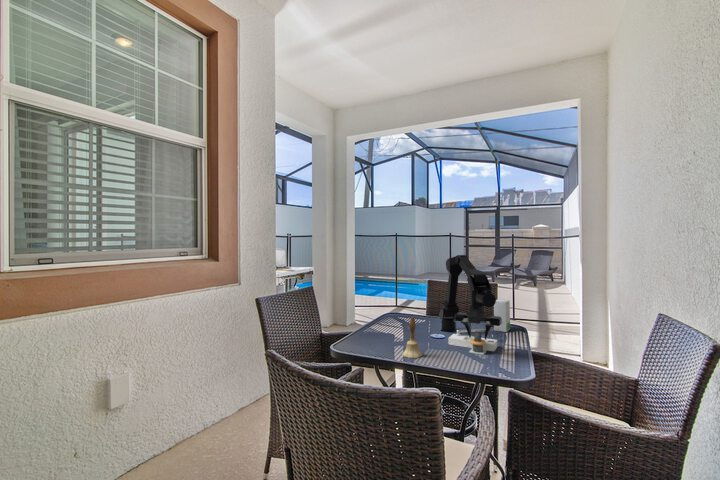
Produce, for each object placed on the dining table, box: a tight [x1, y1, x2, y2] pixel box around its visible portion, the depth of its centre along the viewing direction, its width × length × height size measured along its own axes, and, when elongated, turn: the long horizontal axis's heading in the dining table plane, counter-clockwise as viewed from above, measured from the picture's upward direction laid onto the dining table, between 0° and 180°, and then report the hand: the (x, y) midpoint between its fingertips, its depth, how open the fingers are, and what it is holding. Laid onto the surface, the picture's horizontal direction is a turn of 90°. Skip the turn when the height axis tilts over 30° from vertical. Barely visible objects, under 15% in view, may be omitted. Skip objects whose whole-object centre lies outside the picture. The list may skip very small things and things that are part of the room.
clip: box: [456, 327, 493, 334], centre depth 166 cm, size 17×2×2 cm, turn 96°
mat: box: [468, 348, 488, 356], centre depth 151 cm, size 6×6×1 cm
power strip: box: [448, 332, 498, 352], centre depth 160 cm, size 20×8×4 cm, turn 59°
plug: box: [470, 331, 486, 352], centre depth 151 cm, size 6×6×8 cm
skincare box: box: [493, 298, 511, 333], centre depth 185 cm, size 8×7×16 cm
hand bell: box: [402, 316, 423, 359], centre depth 148 cm, size 8×8×16 cm
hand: (477, 338), depth 151 cm, fingers open, 6 cm apart
